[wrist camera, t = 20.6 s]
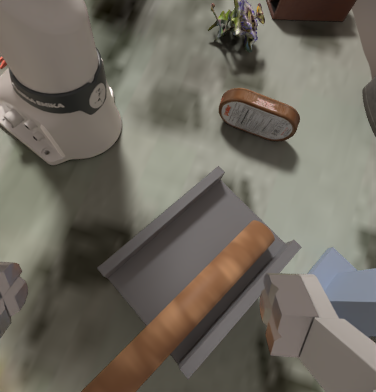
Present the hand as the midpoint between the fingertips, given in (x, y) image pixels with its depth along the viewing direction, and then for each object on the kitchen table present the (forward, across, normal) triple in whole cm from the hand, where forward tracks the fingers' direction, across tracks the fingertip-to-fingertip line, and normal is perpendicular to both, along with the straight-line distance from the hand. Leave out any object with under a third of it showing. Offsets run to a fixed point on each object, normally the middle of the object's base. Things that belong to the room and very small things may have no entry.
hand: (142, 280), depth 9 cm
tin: (+47, -13, +7) cm, 49 cm away
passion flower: (+65, -9, -9) cm, 66 cm away
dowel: (+10, -1, +14) cm, 17 cm away
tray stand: (+24, -1, +24) cm, 34 cm away
